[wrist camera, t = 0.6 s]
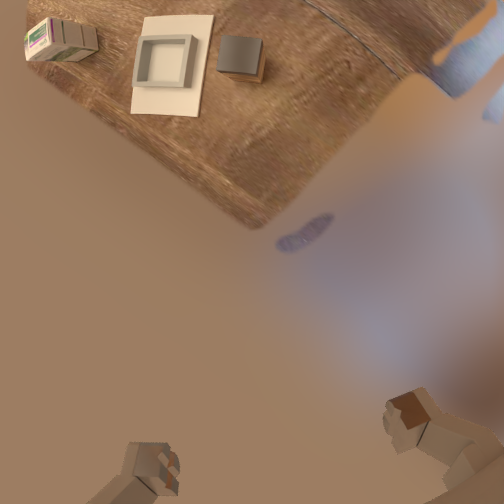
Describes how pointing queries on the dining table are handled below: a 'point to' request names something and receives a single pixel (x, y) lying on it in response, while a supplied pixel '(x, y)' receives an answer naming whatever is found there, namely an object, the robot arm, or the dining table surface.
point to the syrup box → (60, 41)
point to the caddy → (171, 64)
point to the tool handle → (241, 58)
